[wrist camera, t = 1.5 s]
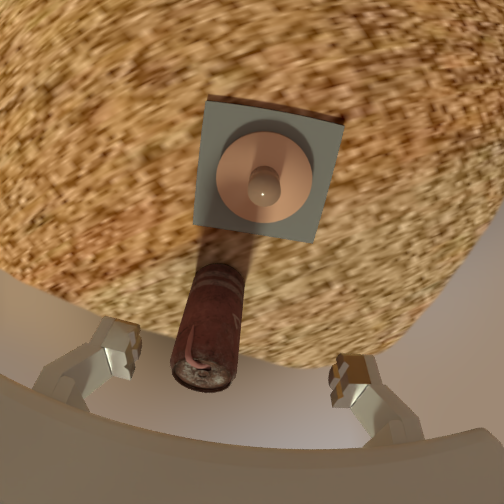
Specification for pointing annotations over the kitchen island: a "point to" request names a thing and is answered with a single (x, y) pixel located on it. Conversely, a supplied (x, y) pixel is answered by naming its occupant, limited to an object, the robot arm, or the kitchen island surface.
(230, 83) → the kitchen island surface
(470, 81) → the kitchen island surface
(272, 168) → the lid
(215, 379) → the can
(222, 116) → the mat
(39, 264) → the kitchen island surface
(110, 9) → the kitchen island surface
